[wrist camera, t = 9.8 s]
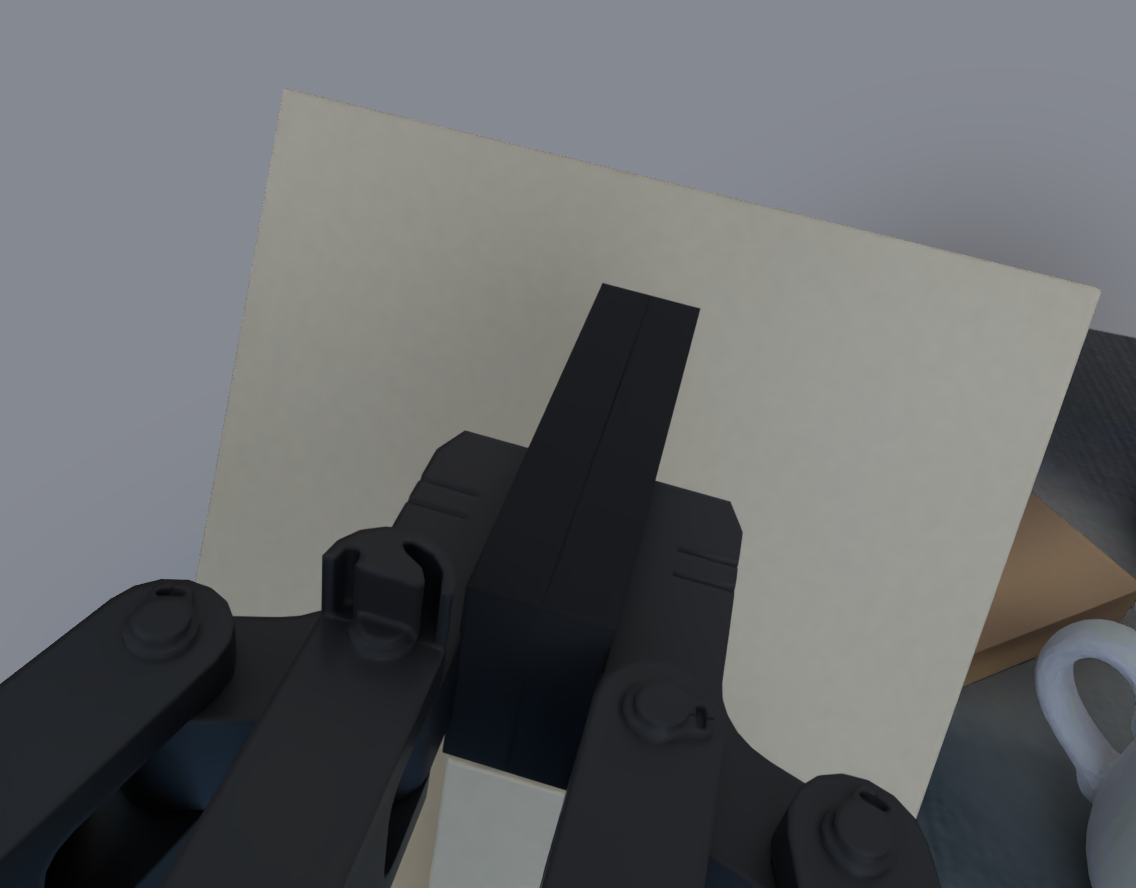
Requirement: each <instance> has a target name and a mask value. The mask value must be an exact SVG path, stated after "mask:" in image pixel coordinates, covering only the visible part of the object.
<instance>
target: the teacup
mask: <svg viewBox="0 0 1136 888" xmlns="http://www.w3.org/2000/svg"><path fill="white" fill-rule="evenodd" d="M1083 658H1096V659H1099V660H1102V661H1104V662H1106V663H1108V664H1109V665H1111V666H1112V667H1114V668H1115V669H1117V670H1118V671H1119V672H1120V673H1121V674H1122V675H1123V676H1124V678H1125V679H1126V680H1127V681H1128V682H1129V683H1130V685H1131V688H1132V691H1133V693H1134V699H1135V710H1134V713H1133V717H1132V720H1131V724H1130V728H1131V731H1132V733H1133V740H1132V741H1131V742H1130V744H1129V745H1128V746H1127V747H1126V749H1125V750H1124V751H1123V752H1122V754H1121V753H1119V752H1117V751H1115V750H1114V749H1113V747H1112V746H1111V745H1110V744H1109V742H1108V741H1107V740H1106V738H1105V737H1104V736H1103V735H1102V733H1101V732H1100V731H1099V729H1098V728H1097V726H1096V725H1095V723H1094V722H1093V720H1092V719H1091V717H1090V715H1089V713H1088V712H1087V710H1086V708H1085V707H1084V705H1083V703H1082V700H1081V698H1080V696H1079V694H1078V691H1077V688H1076V684H1075V681H1074V675H1073V667H1074V662H1075V661H1077V660H1079V659H1083ZM1034 681H1035V690H1036V695H1037V698H1038V701H1039V703H1040V706H1041V708H1042V711H1043V713H1044V716H1045V718H1046V720H1047V722H1048V724H1049V725H1050V727H1051V729H1052V731H1053V733H1054V735H1055V737H1056V738H1057V740H1058V741H1059V743H1060V744H1061V746H1062V748H1063V749H1064V751H1065V752H1066V754H1067V755H1068V757H1069V758H1070V760H1071V761H1072V763H1073V764H1074V766H1075V768H1076V773H1077V782H1078V785H1079V788H1080V790H1081V792H1082V794H1083V795H1084V796H1085V797H1086V798H1087V799H1088V800H1089V801H1090V802H1091V803H1092V809H1091V813H1090V817H1089V821H1088V826H1087V837H1086V856H1087V865H1088V874H1089V878H1090V882H1091V886H1092V888H1136V631H1135V630H1134V629H1132V628H1130V627H1128V626H1125V625H1123V624H1120V623H1117V622H1114V621H1109V620H1103V619H1091V620H1082V621H1079V622H1075V623H1072V624H1070V625H1068V626H1066V627H1064V628H1062V629H1060V630H1058V631H1057V632H1056V633H1055V634H1054V635H1053V636H1052V637H1051V638H1050V639H1049V640H1048V642H1047V643H1046V644H1045V645H1044V647H1043V648H1042V649H1041V652H1040V654H1039V656H1038V658H1037V662H1036V665H1035V673H1034Z"/></svg>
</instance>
